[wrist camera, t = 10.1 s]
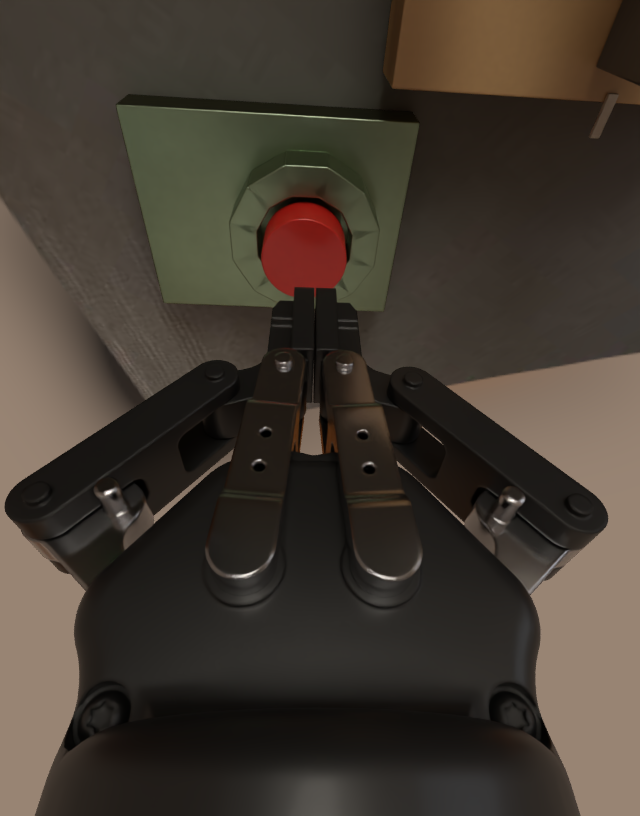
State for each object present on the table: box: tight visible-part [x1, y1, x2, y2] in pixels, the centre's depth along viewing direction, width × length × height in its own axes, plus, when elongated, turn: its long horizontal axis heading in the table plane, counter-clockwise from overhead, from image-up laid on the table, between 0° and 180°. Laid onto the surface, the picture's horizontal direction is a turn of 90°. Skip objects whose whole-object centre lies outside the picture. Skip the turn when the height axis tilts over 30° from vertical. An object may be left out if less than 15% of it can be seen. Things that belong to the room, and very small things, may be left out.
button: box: [261, 202, 347, 297], centre depth 19 cm, size 4×4×2 cm
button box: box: [116, 94, 420, 312], centre depth 20 cm, size 12×9×4 cm
